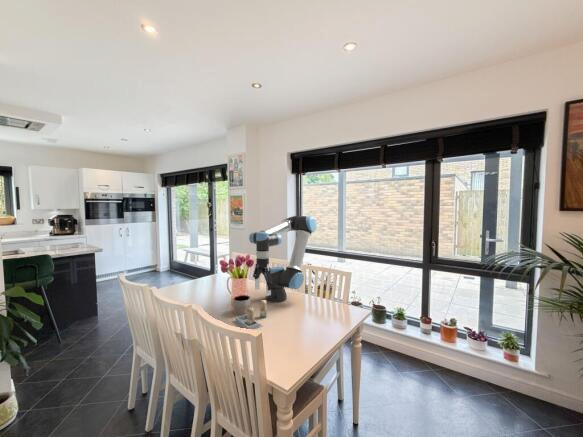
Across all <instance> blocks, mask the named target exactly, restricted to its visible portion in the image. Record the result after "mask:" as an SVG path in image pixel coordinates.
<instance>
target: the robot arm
mask: <svg viewBox="0 0 583 437" xmlns="http://www.w3.org/2000/svg"><path fill="white" fill-rule="evenodd" d="M316 230H317V222H316V219H315V217H313V216H311V215H310V216H309V215H293V216H290V217H288V218H287V217H286V218H284V219H282V220H281V221H280V222H279V223H277V224H274V225H271V226H269V227H267V228H265V229H263V230H260V231H255V232H250V234H249V236H248V239H249V242H250V243H251V244H254V245H256V246H255V248H256V249H255V250H256V253H255V255H256V259H255V260H256V263H255V266H254V270H253V274H252V278H254V290H256V291H257V290H260V276H261V275H263V277H264V279H265V282H266V285H265V286H266V287H265V289H266V291H265V295H266V296H265V299H266V301H268V302H271V303H272V302H273V303H280V302H284V301H286V300H287V299H288V296H287V293H286V289H285V288H288V289H290V290H292V289H293V290H298V289H300V288H301V287H302V285H303V284H304V280H305V278H304V276H305V275H304V274H303V270H302V265H303V260H304V257H305V253H306V248H307V244H308V241H309V237H311V236H312V233H315V232H316ZM291 231H293V232H296V238H295V242H294V245H293V250H292V253H291V257H290V260H289V265H287V266H286V268H285V267H284V266H273V267H270V266H269V267H268V265H269V263H270V259H269V257H270V248H271V247H274V246H275V247H276V246H279V245H280V244H282V241H283V237H282V235H281V234H283V233H285V232H286V233H287V232H291Z"/></svg>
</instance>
